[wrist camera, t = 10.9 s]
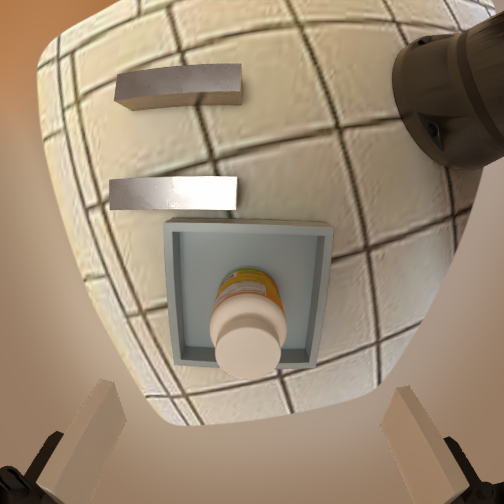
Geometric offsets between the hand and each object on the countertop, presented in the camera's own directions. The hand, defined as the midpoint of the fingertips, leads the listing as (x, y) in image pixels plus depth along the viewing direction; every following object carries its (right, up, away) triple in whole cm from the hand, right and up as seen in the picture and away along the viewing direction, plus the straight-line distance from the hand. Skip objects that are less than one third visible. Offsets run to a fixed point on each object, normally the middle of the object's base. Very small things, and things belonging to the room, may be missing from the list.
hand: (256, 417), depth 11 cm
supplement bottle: (-1, +4, +15) cm, 15 cm away
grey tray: (-1, +4, +15) cm, 16 cm away
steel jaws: (-6, +17, +12) cm, 21 cm away
